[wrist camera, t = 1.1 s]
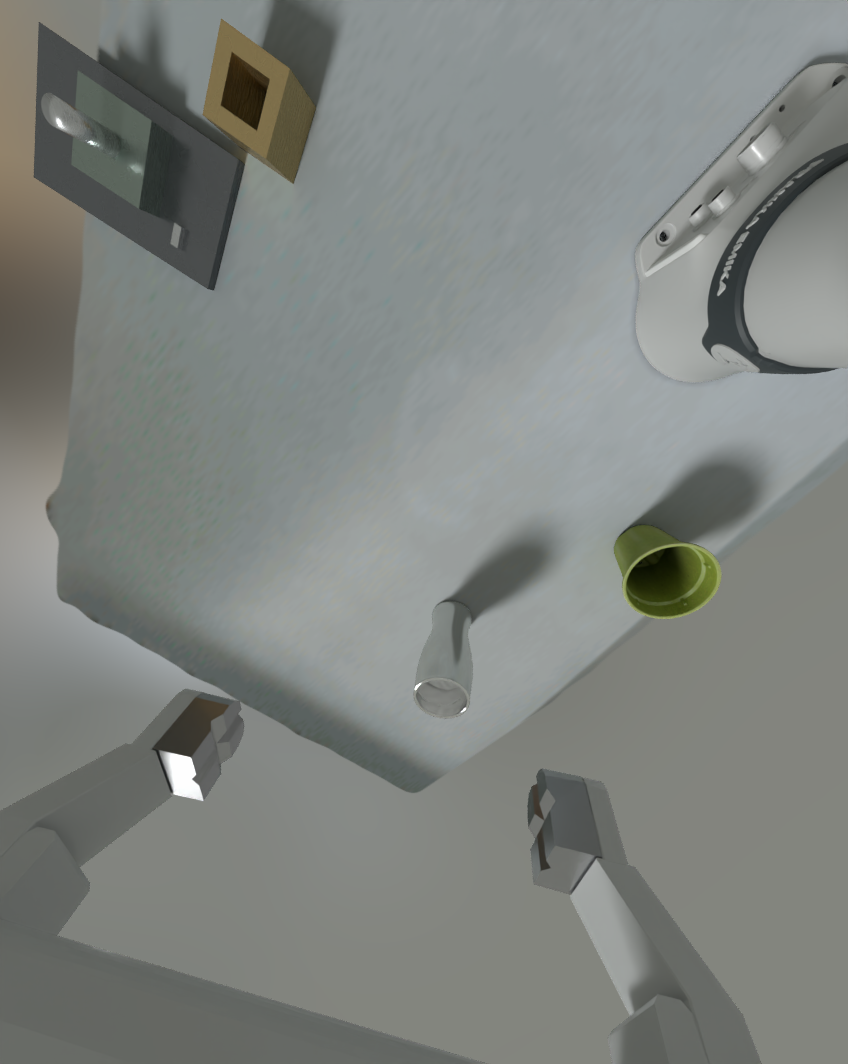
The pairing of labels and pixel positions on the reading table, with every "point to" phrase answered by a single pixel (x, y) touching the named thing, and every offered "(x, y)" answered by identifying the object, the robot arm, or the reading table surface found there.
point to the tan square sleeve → (258, 102)
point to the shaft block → (131, 161)
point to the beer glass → (446, 663)
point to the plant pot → (665, 573)
